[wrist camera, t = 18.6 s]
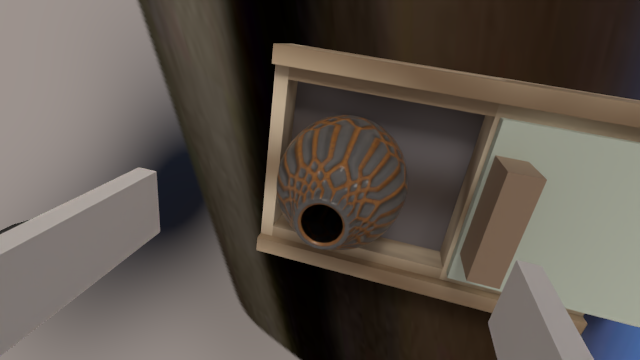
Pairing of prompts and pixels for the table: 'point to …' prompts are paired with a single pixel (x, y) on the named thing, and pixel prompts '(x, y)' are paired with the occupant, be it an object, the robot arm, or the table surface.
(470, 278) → the lid
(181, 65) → the table surface
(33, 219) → the robot arm
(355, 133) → the vase
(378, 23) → the table surface
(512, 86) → the wooden box
